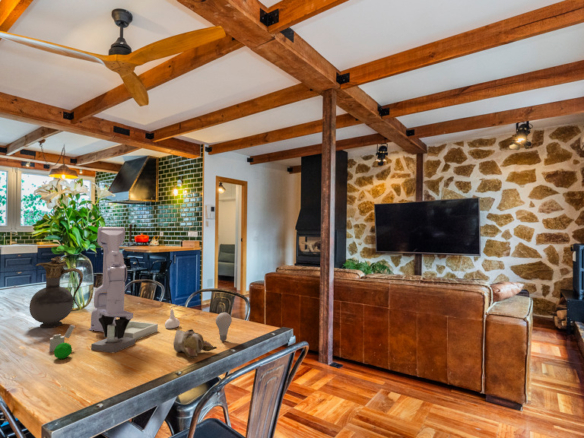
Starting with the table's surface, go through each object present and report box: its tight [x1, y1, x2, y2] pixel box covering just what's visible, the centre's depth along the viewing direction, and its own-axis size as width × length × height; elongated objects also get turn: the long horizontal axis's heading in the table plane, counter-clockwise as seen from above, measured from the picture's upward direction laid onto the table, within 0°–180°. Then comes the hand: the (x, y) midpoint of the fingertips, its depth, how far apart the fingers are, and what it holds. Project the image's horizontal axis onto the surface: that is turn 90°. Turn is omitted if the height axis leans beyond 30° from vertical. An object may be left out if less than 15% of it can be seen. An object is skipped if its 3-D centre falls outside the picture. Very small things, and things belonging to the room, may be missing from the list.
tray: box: [103, 320, 159, 341], centre depth 137 cm, size 14×14×3 cm
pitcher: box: [28, 256, 84, 329], centre depth 148 cm, size 11×19×30 cm, turn 131°
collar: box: [90, 337, 136, 354], centre depth 122 cm, size 10×10×2 cm
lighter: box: [48, 324, 76, 353], centre depth 119 cm, size 7×2×8 cm, turn 129°
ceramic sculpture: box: [172, 328, 218, 359], centre depth 116 cm, size 11×9×15 cm
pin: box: [107, 323, 121, 344], centre depth 122 cm, size 3×3×8 cm
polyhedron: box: [53, 342, 73, 360], centre depth 111 cm, size 5×5×5 cm
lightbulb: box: [215, 311, 233, 342], centre depth 130 cm, size 6×6×11 cm
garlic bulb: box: [164, 308, 181, 330], centre depth 148 cm, size 6×6×8 cm
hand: (114, 337), depth 122 cm, fingers open, 5 cm apart
